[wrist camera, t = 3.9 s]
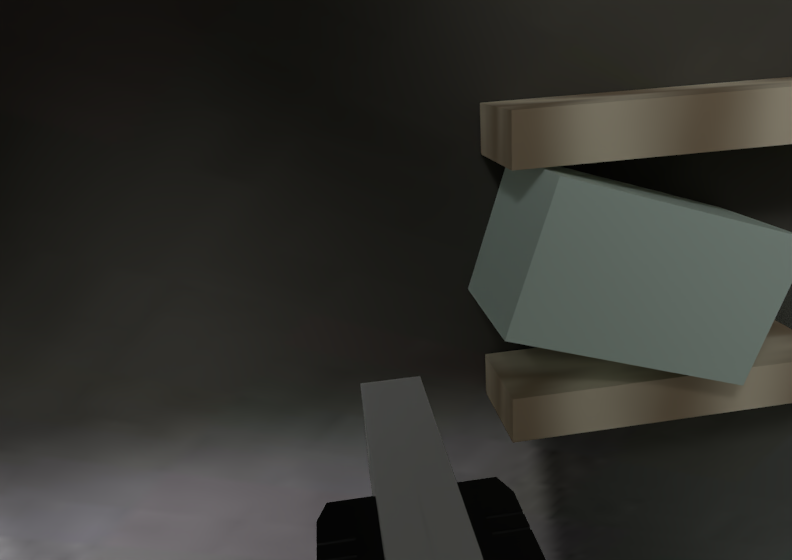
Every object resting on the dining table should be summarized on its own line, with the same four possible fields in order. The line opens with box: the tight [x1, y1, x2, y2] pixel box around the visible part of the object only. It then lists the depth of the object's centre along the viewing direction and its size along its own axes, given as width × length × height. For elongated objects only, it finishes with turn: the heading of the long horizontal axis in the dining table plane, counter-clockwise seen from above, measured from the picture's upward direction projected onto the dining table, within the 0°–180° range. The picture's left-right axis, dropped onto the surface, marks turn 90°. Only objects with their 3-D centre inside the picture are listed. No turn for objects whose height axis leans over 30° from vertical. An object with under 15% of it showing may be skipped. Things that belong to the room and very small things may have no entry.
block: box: [468, 166, 792, 386], centre depth 24 cm, size 10×6×6 cm, turn 76°
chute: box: [480, 77, 792, 443], centre depth 25 cm, size 14×13×4 cm
